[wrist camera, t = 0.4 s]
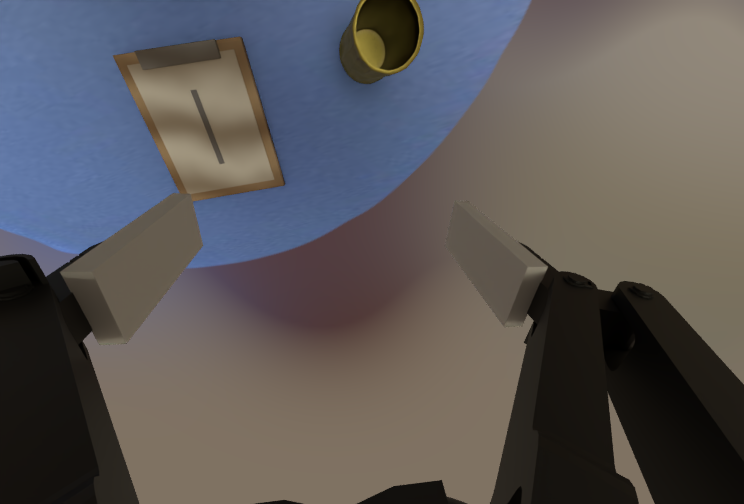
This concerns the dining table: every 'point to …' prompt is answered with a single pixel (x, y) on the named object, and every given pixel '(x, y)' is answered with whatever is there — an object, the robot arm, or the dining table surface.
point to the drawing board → (204, 116)
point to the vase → (381, 39)
